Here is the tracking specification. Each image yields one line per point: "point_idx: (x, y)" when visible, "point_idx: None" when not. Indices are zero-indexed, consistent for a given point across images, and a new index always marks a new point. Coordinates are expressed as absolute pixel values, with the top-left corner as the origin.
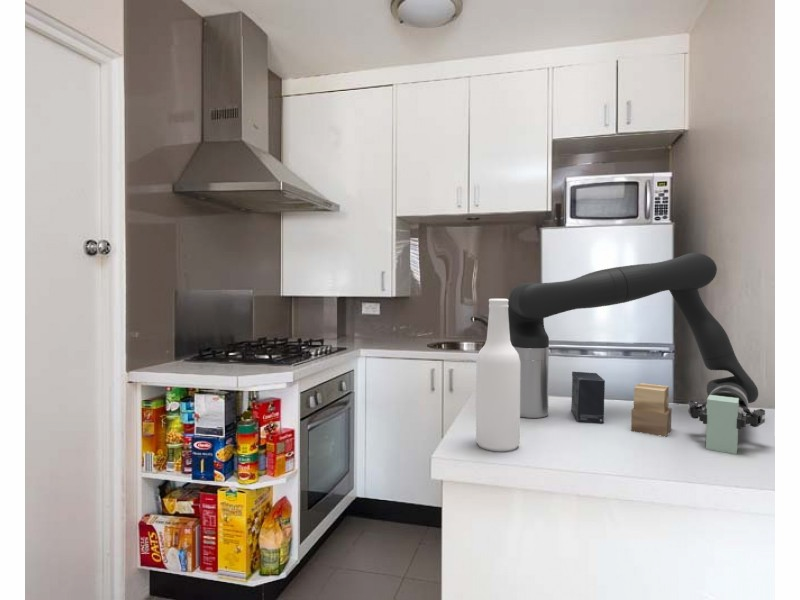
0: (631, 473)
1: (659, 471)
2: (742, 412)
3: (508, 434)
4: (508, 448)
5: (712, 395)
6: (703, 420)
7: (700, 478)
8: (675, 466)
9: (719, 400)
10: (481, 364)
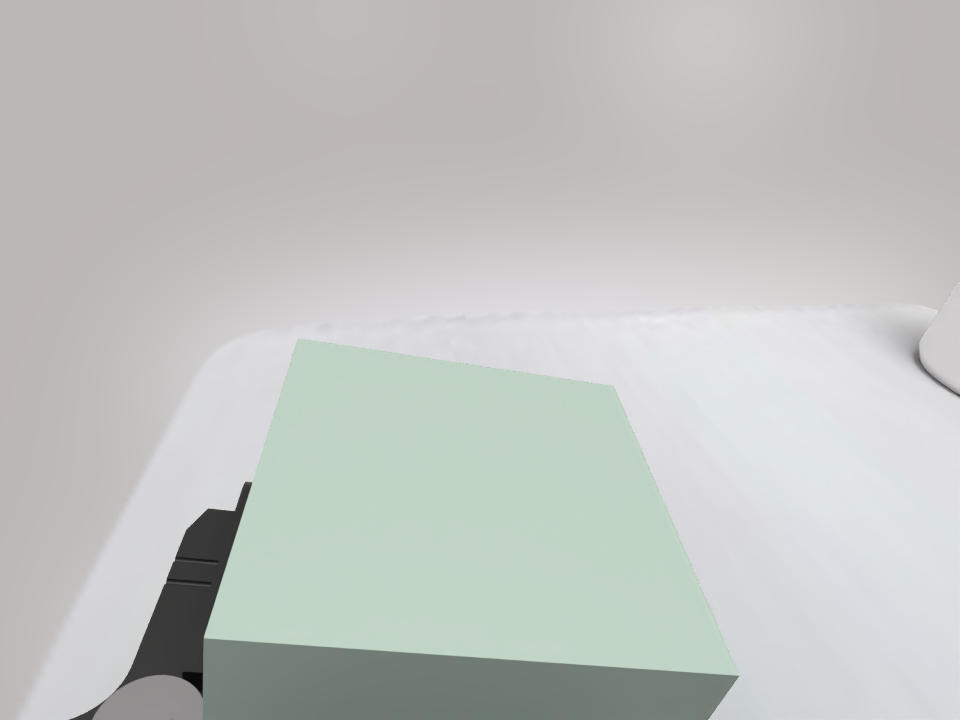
0: (610, 327)
1: (558, 354)
2: (161, 704)
3: (942, 307)
4: (919, 347)
5: (673, 635)
6: None
7: (436, 343)
8: None
9: (494, 384)
10: None
